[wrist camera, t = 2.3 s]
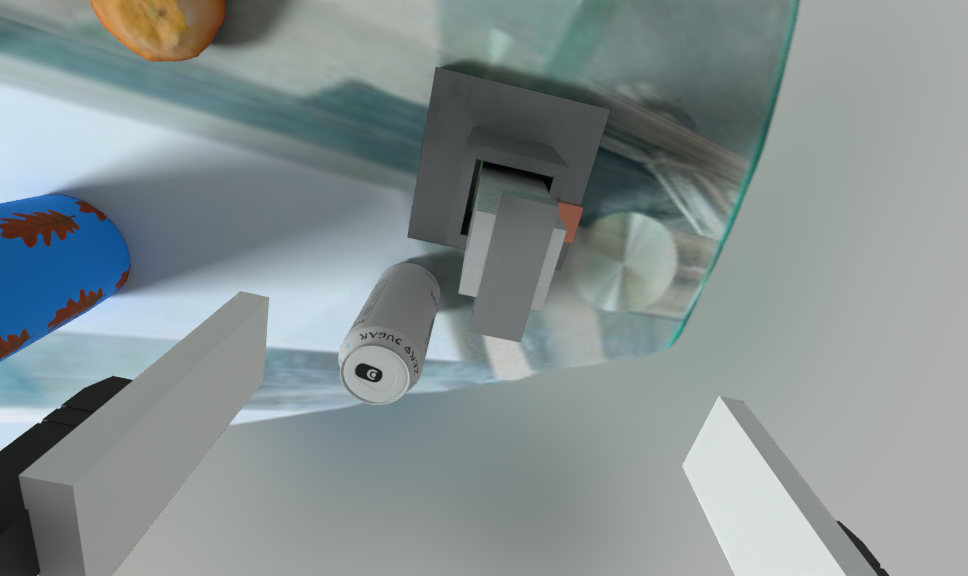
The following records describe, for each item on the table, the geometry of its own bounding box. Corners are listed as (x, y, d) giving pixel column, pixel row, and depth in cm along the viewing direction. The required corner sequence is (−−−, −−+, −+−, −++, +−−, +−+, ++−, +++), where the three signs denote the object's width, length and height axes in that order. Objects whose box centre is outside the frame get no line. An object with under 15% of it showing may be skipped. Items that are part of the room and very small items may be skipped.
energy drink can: (427, 324, 48) (401, 423, 34) (370, 302, 47) (320, 394, 34) (450, 273, 46) (432, 358, 32) (391, 249, 45) (346, 324, 31)
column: (487, 132, 38) (479, 188, 19) (537, 144, 39) (581, 212, 19) (470, 209, 41) (449, 327, 22) (518, 219, 41) (539, 346, 22)
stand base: (438, 67, 39) (414, 63, 27) (605, 108, 40) (651, 121, 28) (411, 230, 44) (381, 285, 33) (557, 262, 45) (579, 327, 34)
